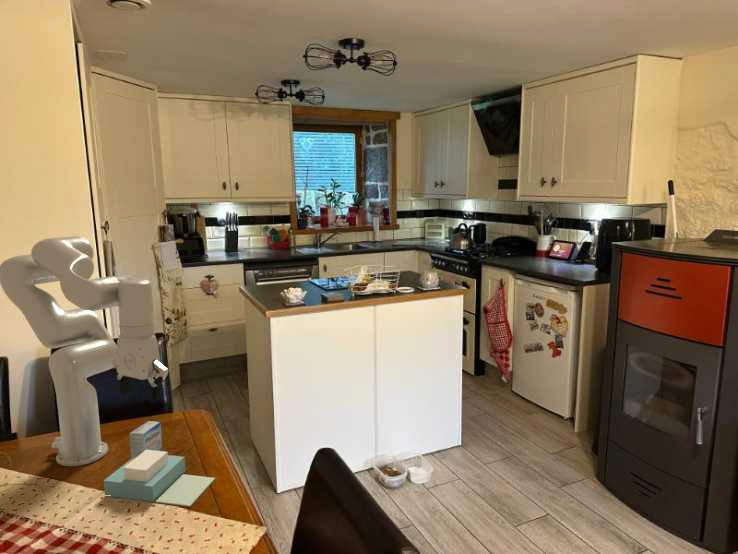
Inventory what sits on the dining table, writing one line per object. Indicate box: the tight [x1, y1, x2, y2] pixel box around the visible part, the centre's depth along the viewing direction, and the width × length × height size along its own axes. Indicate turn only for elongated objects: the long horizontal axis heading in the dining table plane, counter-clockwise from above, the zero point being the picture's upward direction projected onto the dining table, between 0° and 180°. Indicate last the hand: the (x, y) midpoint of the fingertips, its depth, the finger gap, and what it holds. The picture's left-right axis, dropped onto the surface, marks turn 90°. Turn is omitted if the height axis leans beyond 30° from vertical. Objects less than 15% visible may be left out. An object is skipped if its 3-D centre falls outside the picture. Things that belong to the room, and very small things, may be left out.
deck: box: [103, 452, 186, 503], centre depth 129 cm, size 13×14×4 cm
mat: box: [154, 473, 216, 508], centre depth 126 cm, size 9×12×1 cm
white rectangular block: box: [124, 450, 169, 482], centre depth 127 cm, size 6×9×3 cm, turn 169°
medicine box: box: [129, 420, 163, 460], centre depth 141 cm, size 8×4×9 cm, turn 168°
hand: (141, 396), depth 127 cm, fingers open, 9 cm apart
